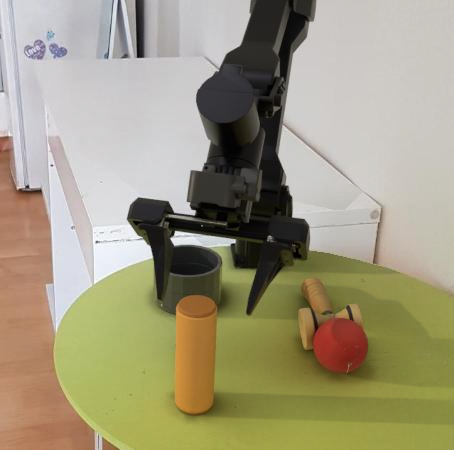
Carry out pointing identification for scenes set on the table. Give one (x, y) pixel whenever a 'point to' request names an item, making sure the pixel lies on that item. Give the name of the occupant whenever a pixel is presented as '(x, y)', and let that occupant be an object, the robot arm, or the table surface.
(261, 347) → the table surface
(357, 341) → the kendama
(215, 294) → the pot
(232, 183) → the robot arm
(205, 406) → the orange tall cylinder
